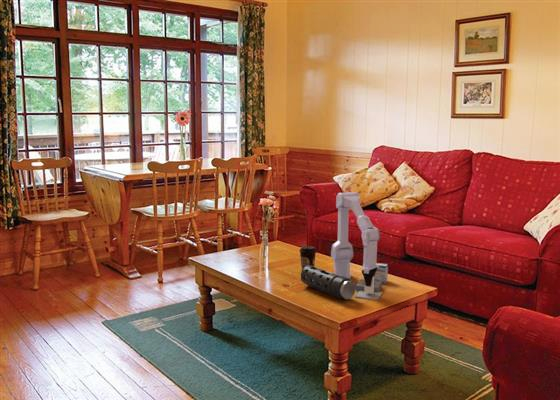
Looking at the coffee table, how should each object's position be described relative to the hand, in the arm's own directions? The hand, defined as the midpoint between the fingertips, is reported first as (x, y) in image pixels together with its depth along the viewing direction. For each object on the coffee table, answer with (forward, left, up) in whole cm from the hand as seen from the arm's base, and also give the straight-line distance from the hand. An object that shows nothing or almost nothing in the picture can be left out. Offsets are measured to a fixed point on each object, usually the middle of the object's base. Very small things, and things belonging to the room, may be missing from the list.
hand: (369, 284), depth 243 cm
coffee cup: (-24, -37, -5) cm, 44 cm away
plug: (0, 0, -3) cm, 3 cm away
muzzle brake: (+5, -18, -5) cm, 19 cm away
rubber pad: (0, 0, -5) cm, 5 cm away
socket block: (-9, -2, -5) cm, 10 cm away
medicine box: (-22, 0, -5) cm, 23 cm away
